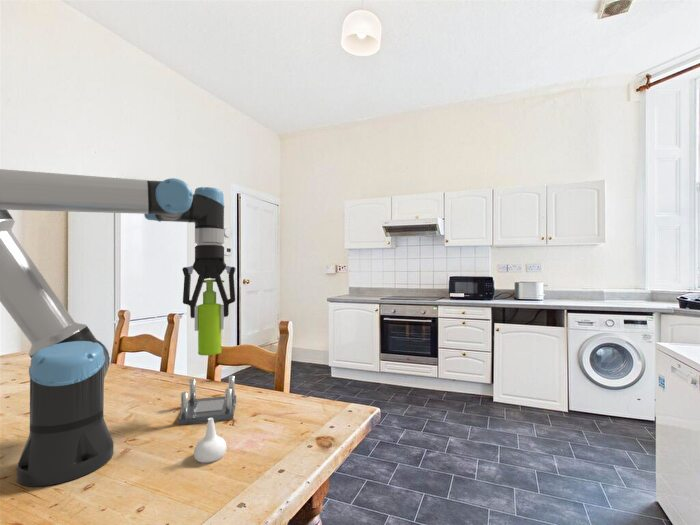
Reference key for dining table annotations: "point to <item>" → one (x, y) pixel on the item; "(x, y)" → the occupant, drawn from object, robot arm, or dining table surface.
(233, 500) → the dining table surface
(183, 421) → the display stand
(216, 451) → the garlic bulb
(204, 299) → the soap dispenser
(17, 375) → the dining table surface
